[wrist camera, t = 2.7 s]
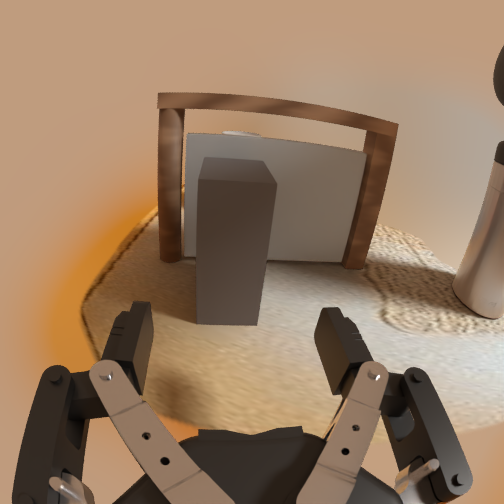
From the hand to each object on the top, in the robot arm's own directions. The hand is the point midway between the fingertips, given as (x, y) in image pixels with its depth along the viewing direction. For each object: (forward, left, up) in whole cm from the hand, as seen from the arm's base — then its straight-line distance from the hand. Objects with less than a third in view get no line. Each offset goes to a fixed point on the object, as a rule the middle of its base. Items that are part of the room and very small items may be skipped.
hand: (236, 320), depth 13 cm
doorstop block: (-7, -9, -8) cm, 14 cm away
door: (-16, -11, -7) cm, 21 cm away
